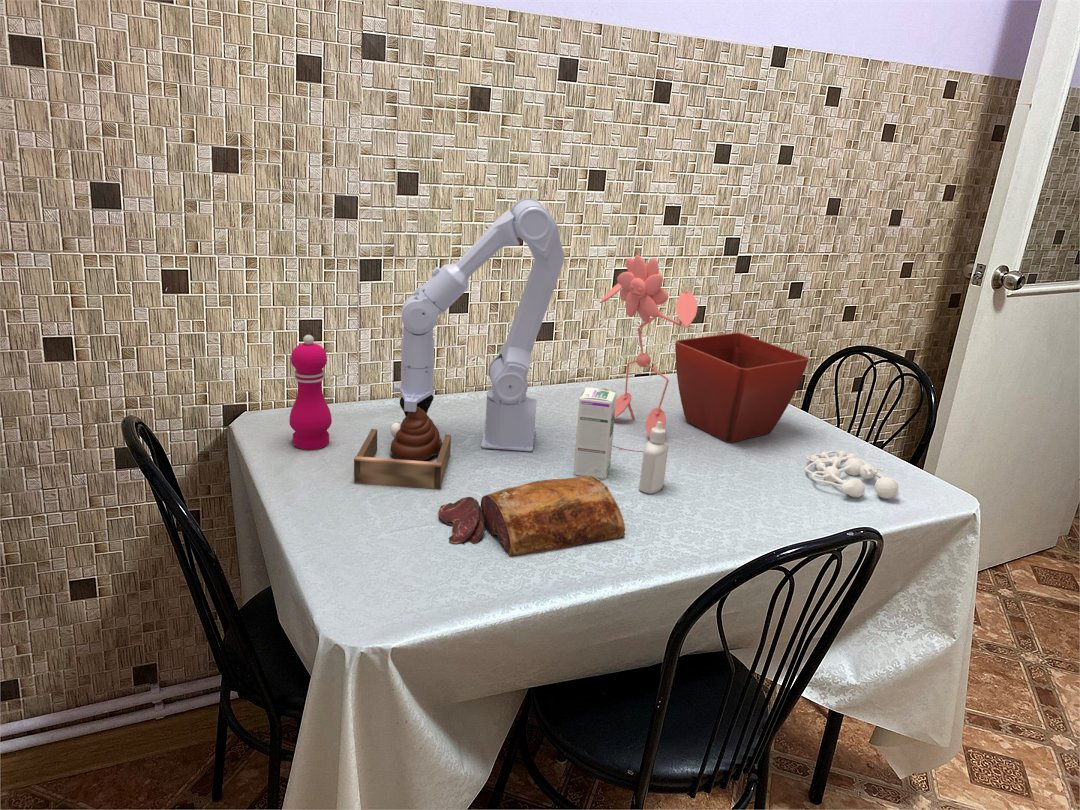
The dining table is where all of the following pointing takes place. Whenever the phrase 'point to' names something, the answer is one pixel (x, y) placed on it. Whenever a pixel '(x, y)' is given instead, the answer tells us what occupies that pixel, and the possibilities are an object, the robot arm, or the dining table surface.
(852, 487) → the tangled rod sculpture
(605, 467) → the syrup box
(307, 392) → the pepper mill
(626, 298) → the figurine
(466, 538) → the cured meat
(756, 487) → the dining table surface
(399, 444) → the poop emoji
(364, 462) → the frame
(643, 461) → the eye dropper bottle
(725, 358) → the plant pot
